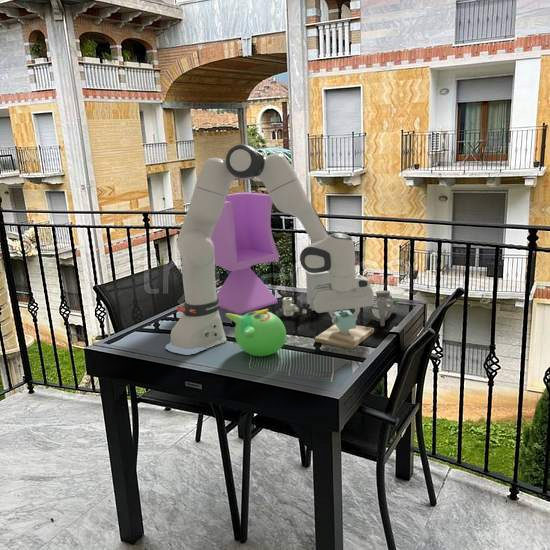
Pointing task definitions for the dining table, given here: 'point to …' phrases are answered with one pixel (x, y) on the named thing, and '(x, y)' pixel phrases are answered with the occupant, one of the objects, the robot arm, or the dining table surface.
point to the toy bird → (259, 332)
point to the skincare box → (315, 284)
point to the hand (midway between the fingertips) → (344, 321)
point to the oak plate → (344, 336)
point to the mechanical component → (383, 307)
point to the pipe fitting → (374, 312)
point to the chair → (244, 251)
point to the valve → (295, 308)
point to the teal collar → (345, 320)
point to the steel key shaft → (345, 332)
